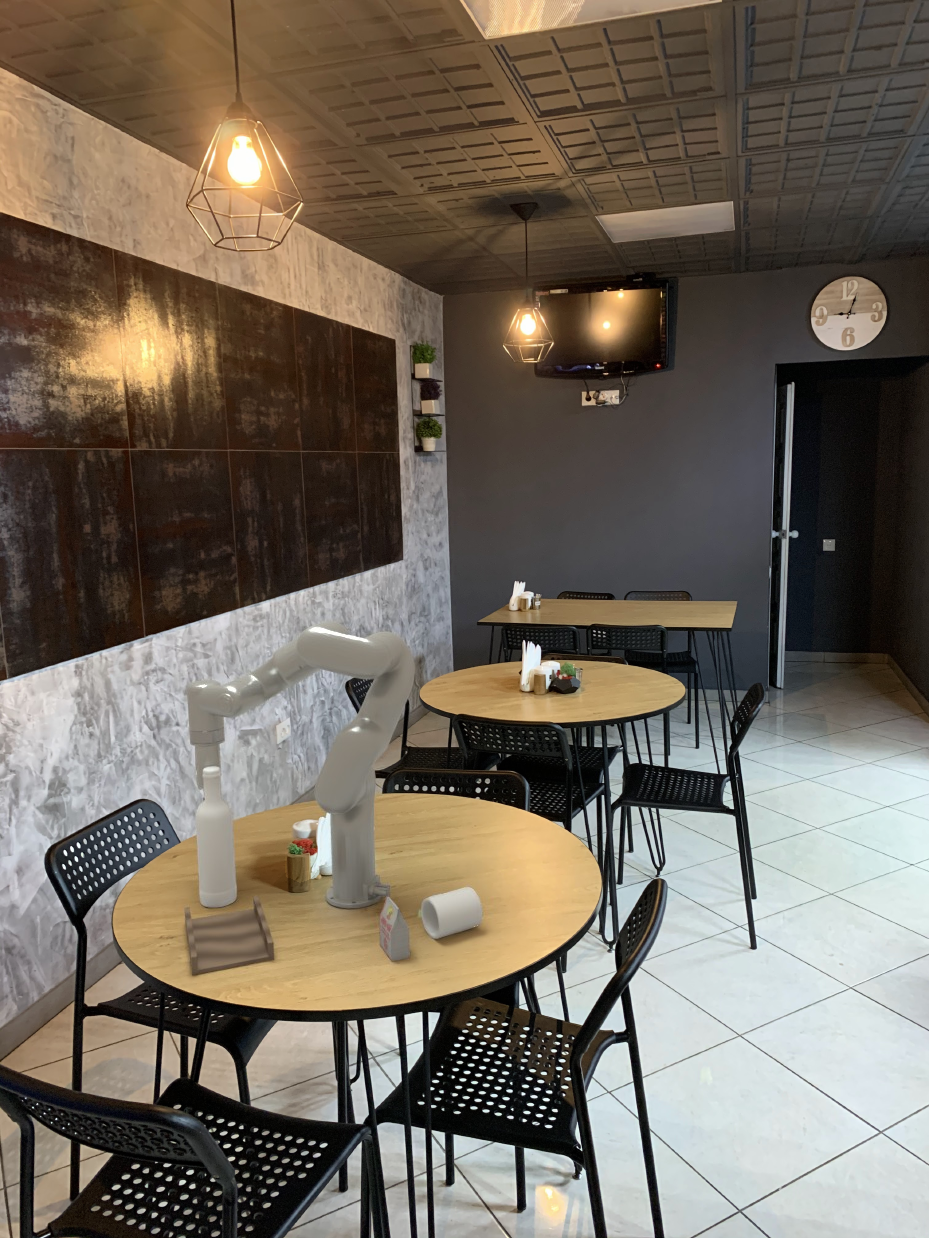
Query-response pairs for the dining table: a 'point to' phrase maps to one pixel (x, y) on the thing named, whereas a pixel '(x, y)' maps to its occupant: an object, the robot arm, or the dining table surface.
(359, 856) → the robot arm
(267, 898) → the dining table surface
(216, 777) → the bottle
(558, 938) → the dining table surface
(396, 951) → the grey gabled box
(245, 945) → the u rest
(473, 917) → the mug
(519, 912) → the dining table surface
